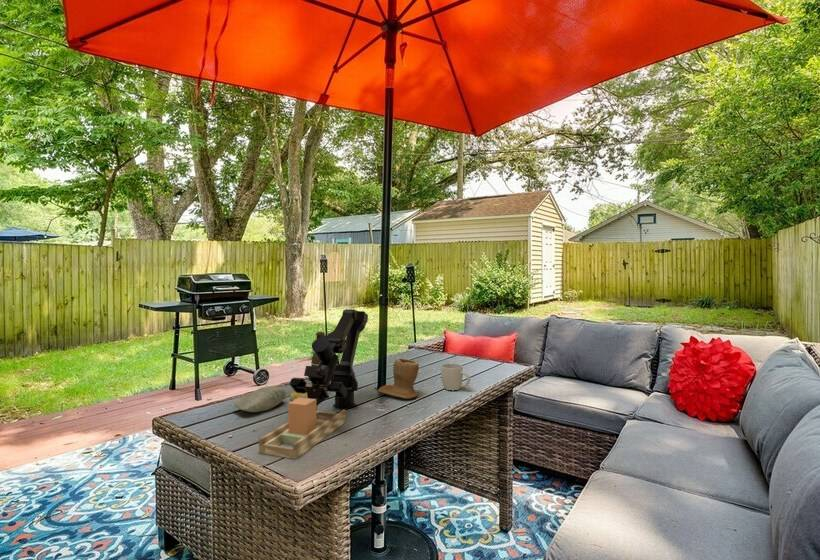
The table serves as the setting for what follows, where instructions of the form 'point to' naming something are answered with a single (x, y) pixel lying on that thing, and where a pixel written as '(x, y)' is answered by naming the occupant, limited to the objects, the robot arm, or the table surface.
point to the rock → (261, 399)
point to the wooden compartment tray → (300, 436)
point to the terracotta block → (302, 416)
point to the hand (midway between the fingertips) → (308, 411)
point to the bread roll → (298, 395)
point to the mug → (453, 376)
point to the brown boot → (402, 379)
